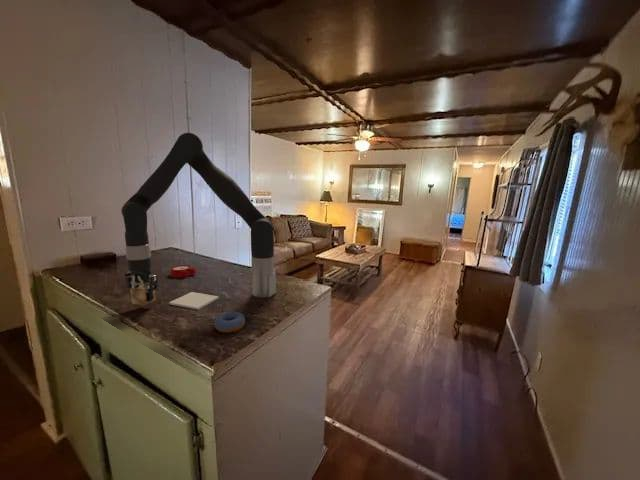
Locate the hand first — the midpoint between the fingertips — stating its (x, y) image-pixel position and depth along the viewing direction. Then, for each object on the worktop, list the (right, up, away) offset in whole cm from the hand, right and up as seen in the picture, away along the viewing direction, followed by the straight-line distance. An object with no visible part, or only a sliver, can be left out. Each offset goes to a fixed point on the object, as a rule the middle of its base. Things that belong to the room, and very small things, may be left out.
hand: (143, 299), depth 104 cm
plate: (+16, -2, +8) cm, 18 cm away
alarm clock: (-5, +4, +41) cm, 41 cm away
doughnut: (+36, -7, -11) cm, 39 cm away
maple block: (0, -1, 0) cm, 1 cm away
